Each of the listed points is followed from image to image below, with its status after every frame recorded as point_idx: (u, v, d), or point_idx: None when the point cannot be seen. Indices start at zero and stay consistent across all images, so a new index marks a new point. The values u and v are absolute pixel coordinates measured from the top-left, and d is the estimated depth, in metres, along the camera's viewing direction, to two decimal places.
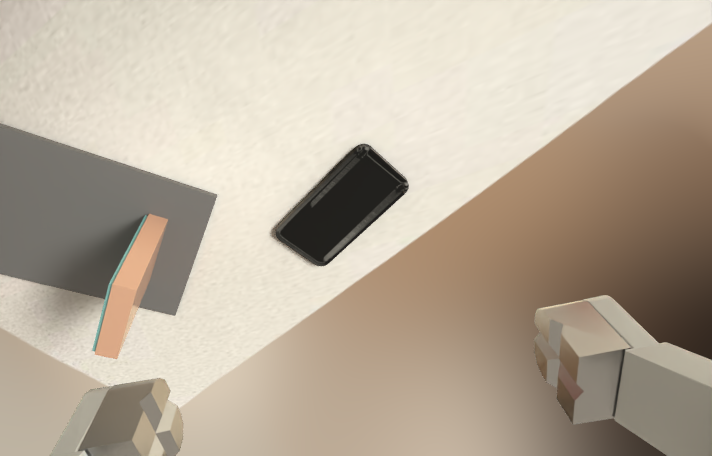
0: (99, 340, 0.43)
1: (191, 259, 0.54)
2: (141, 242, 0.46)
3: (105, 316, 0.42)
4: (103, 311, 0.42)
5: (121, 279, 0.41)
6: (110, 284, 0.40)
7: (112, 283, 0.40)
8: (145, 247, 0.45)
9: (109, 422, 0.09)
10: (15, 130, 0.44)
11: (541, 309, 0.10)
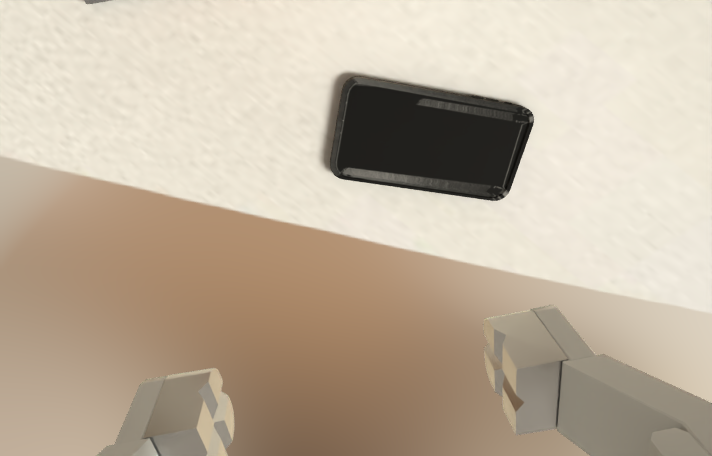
0: None
1: None
2: None
3: None
4: None
5: None
6: None
7: None
8: None
9: (170, 411, 0.09)
10: None
11: (488, 319, 0.10)
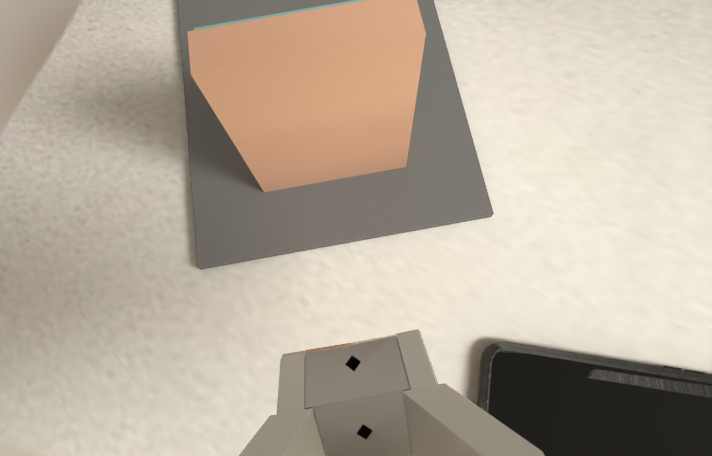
0: (238, 25, 0.18)
1: (346, 234, 0.28)
2: None
3: (316, 12, 0.18)
4: None
5: None
6: None
7: None
8: None
9: (324, 382, 0.09)
10: None
11: (350, 344, 0.09)
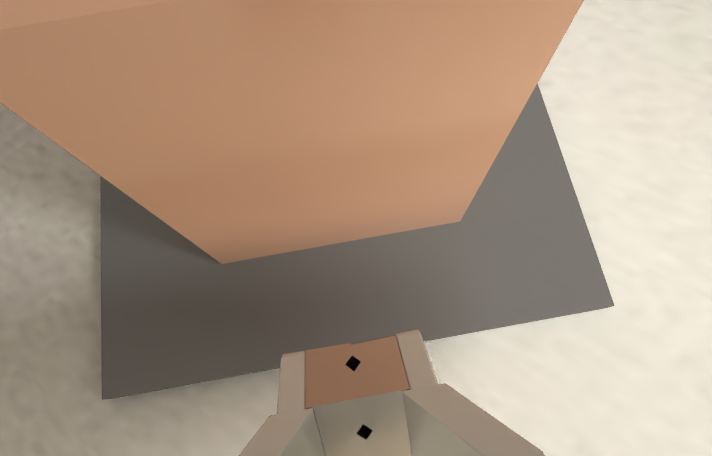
0: None
1: None
2: None
3: None
4: None
5: None
6: None
7: None
8: None
9: (324, 382, 0.09)
10: None
11: (351, 344, 0.09)
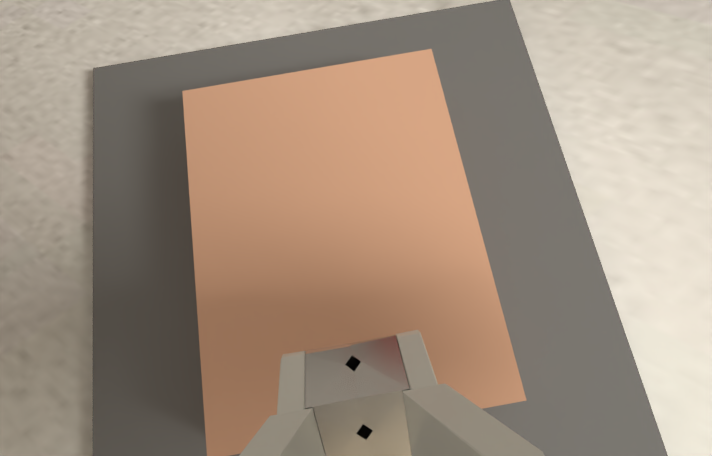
0: None
1: None
2: None
3: None
4: None
5: None
6: None
7: None
8: None
9: (324, 382, 0.09)
10: None
11: (351, 344, 0.09)
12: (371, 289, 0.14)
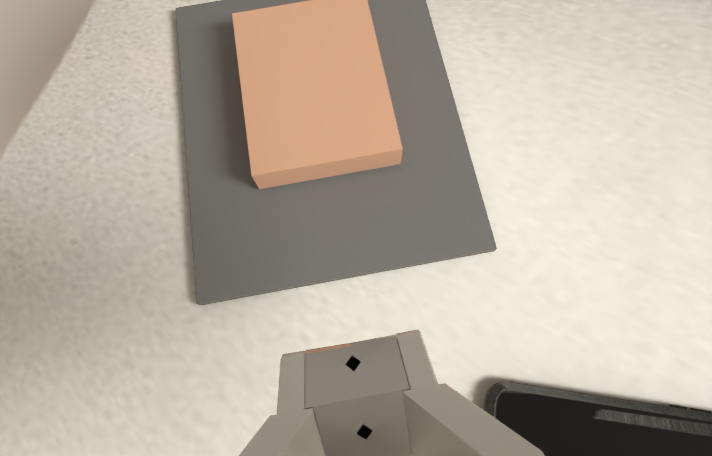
0: None
1: (348, 269, 0.28)
2: None
3: None
4: None
5: None
6: None
7: None
8: None
9: (324, 382, 0.09)
10: None
11: (350, 344, 0.09)
12: (330, 104, 0.28)
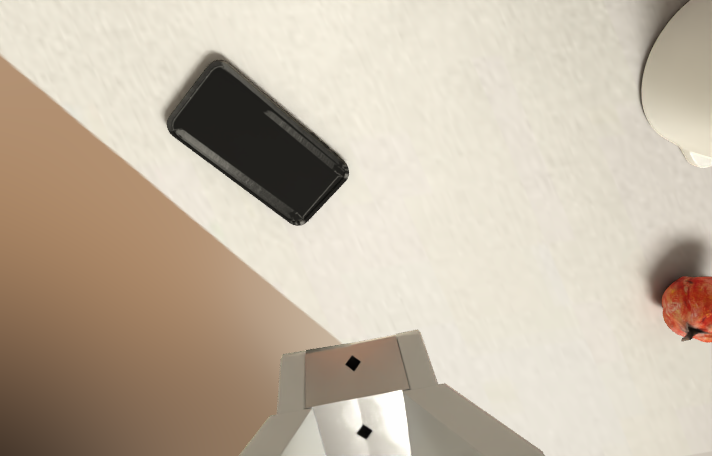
0: None
1: None
2: None
3: None
4: None
5: None
6: None
7: None
8: None
9: (324, 382, 0.09)
10: None
11: (351, 344, 0.09)
12: None
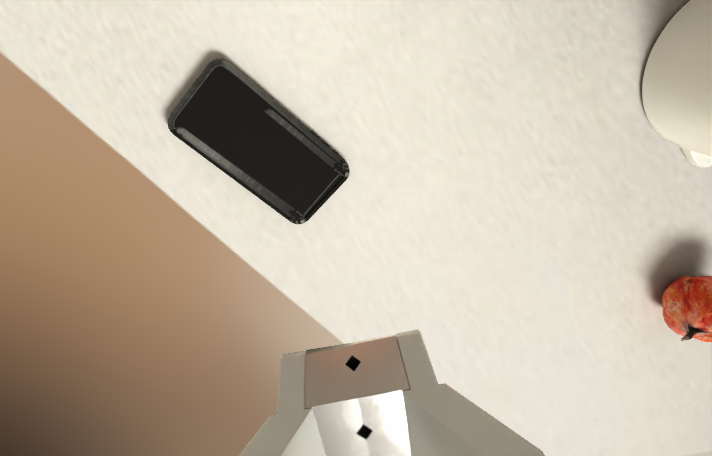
0: None
1: None
2: None
3: None
4: None
5: None
6: None
7: None
8: None
9: (324, 382, 0.09)
10: None
11: (350, 344, 0.09)
12: None
